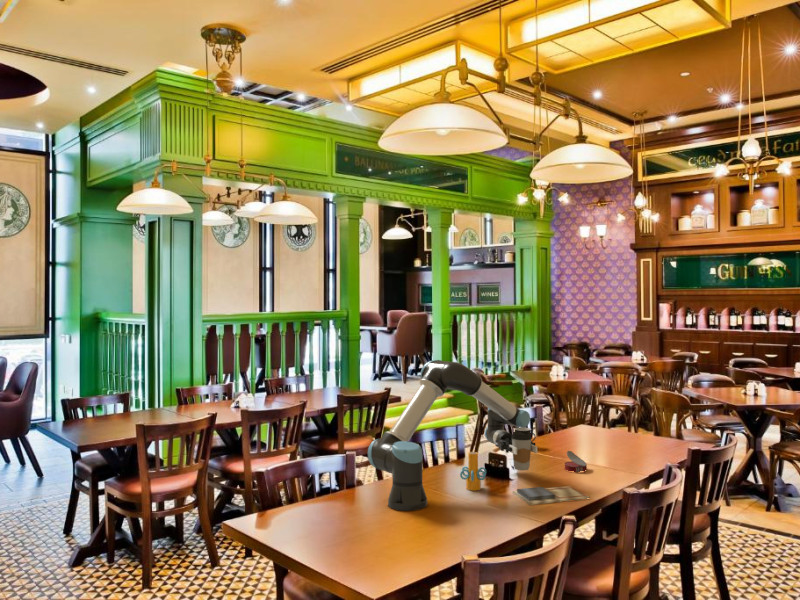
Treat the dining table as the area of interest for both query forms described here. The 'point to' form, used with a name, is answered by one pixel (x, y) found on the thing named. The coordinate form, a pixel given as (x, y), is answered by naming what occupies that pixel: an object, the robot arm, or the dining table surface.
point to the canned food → (575, 463)
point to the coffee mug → (526, 431)
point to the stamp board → (558, 493)
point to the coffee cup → (522, 449)
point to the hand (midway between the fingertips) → (526, 450)
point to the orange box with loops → (473, 473)
